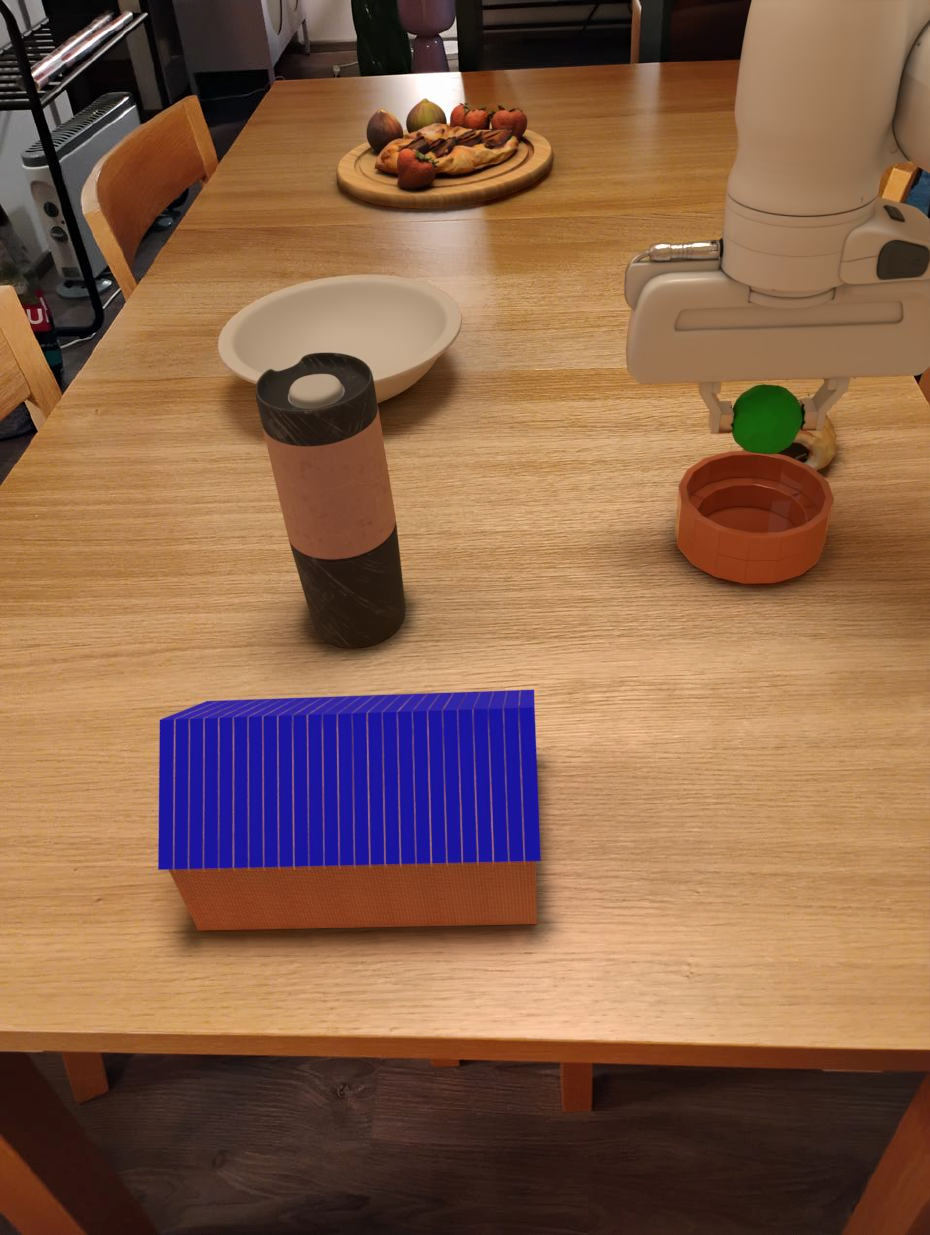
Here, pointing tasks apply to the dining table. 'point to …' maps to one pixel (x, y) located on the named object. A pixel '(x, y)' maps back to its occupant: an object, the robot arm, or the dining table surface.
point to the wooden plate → (444, 157)
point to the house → (352, 810)
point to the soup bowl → (345, 328)
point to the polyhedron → (766, 419)
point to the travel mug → (335, 495)
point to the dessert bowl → (752, 516)
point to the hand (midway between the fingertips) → (765, 428)
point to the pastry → (813, 446)
